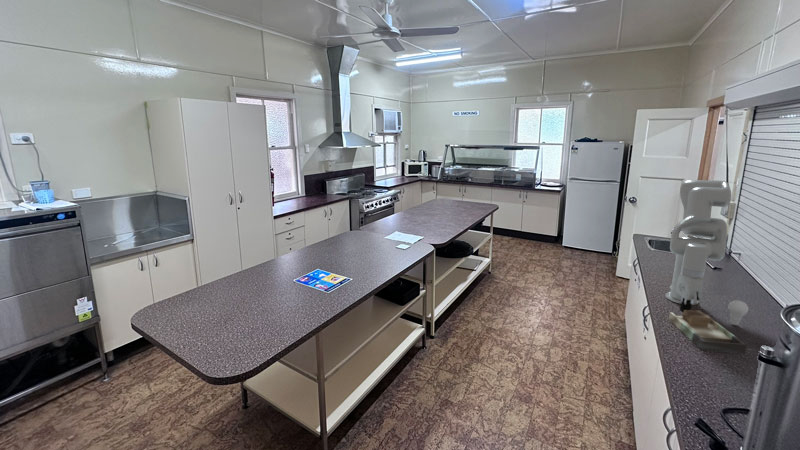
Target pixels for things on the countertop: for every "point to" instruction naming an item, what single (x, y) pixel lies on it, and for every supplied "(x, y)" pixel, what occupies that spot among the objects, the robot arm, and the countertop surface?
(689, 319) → the walnut block
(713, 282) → the countertop surface
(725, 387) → the countertop surface
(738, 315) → the lightbulb
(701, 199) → the robot arm
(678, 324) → the trap lane
